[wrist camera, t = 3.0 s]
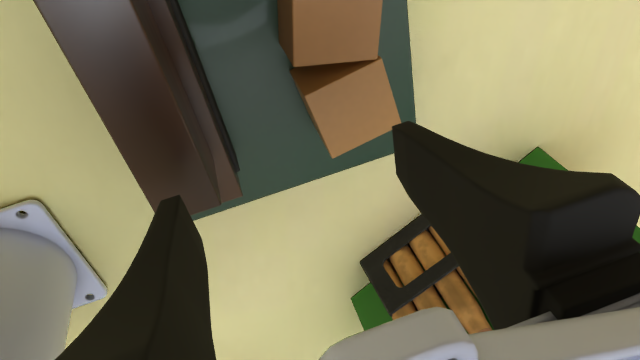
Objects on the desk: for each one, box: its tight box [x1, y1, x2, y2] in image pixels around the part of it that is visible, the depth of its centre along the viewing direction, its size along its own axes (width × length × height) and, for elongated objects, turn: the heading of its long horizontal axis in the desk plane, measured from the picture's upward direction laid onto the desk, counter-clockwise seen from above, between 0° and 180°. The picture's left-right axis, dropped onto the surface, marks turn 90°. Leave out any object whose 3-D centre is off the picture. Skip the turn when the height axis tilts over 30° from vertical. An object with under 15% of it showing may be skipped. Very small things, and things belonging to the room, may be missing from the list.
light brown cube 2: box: [277, 0, 383, 67], centre depth 20 cm, size 4×4×3 cm
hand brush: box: [33, 0, 243, 216], centre depth 18 cm, size 4×14×7 cm, turn 11°
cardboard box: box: [290, 55, 401, 159], centre depth 23 cm, size 4×4×3 cm
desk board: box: [178, 0, 416, 221], centre depth 21 cm, size 15×20×1 cm
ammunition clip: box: [360, 214, 492, 334], centre depth 29 cm, size 11×2×12 cm, turn 128°
